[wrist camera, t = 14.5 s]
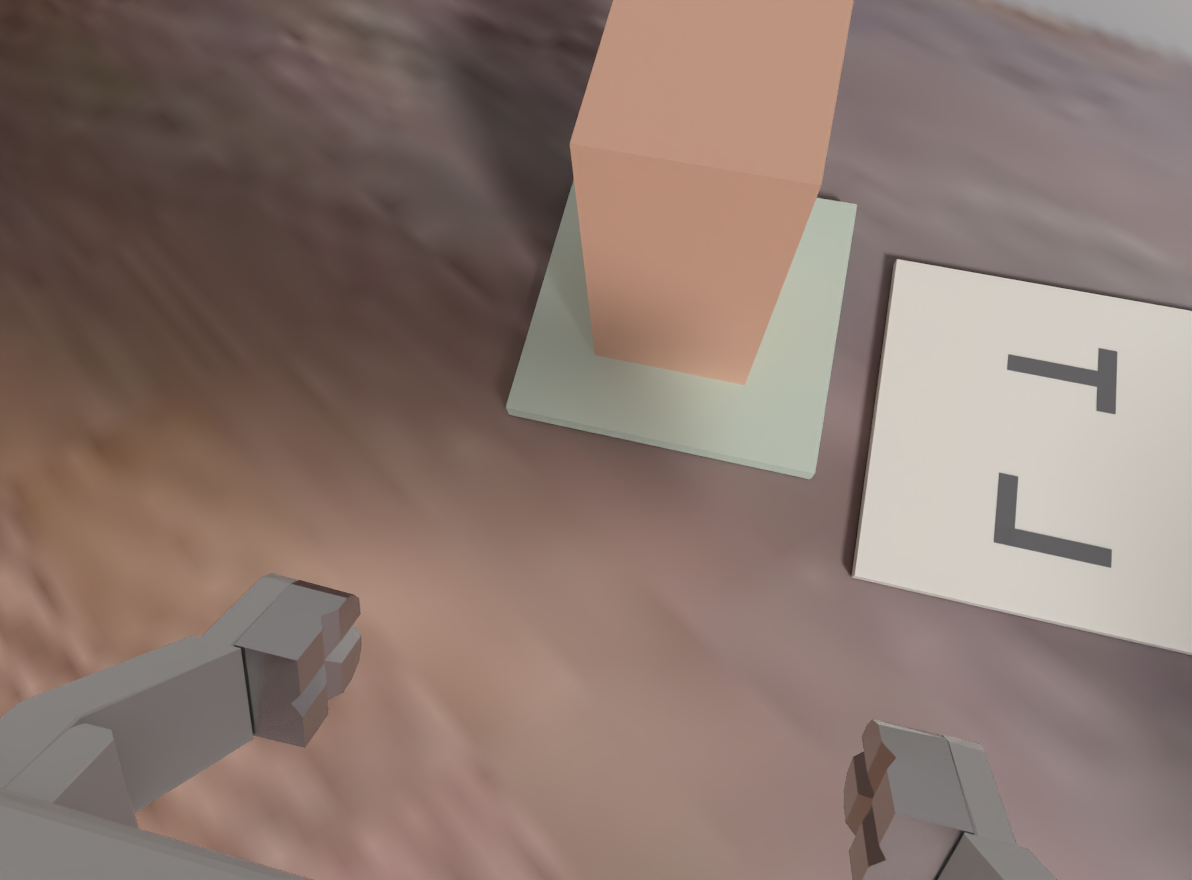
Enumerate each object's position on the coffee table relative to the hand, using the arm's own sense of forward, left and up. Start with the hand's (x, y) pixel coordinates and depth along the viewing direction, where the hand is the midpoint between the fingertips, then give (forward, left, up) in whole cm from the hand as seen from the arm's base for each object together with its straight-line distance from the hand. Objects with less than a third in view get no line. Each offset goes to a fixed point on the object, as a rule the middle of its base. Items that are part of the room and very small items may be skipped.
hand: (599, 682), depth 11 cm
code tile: (+11, +9, -8) cm, 16 cm away
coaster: (0, +11, -8) cm, 14 cm away
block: (0, +11, -8) cm, 14 cm away
